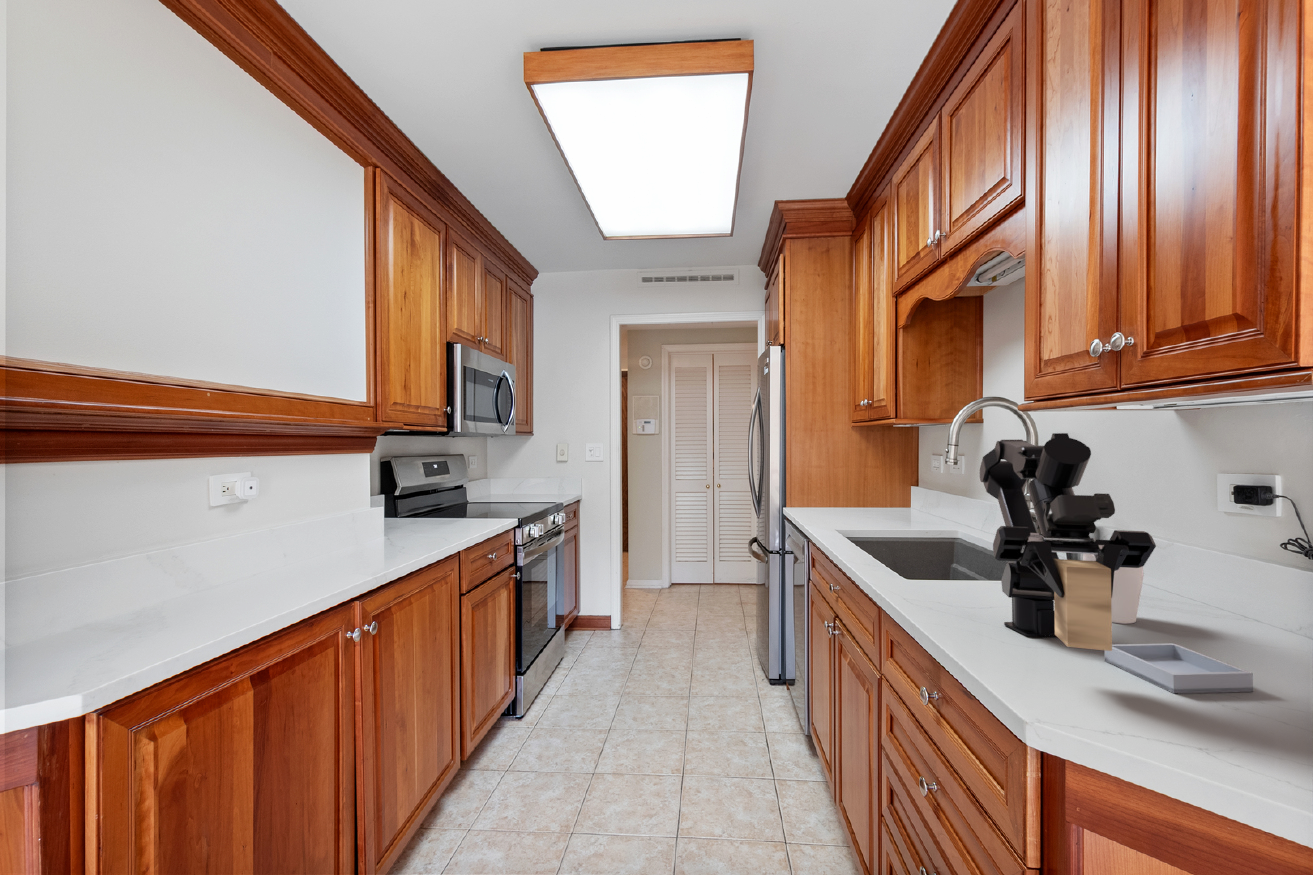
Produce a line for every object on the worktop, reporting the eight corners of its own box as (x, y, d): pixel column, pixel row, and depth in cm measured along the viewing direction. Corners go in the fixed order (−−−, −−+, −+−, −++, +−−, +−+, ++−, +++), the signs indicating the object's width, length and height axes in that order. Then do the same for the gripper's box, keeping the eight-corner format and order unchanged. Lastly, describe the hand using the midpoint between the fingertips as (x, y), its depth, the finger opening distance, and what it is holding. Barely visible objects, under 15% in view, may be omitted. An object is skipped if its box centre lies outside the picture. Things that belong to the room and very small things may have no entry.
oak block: (1054, 634, 80) (1053, 558, 80) (1096, 638, 78) (1095, 561, 78) (1067, 646, 75) (1066, 566, 75) (1112, 650, 74) (1110, 568, 74)
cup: (1083, 608, 111) (1082, 548, 111) (1143, 616, 105) (1142, 554, 105) (1082, 619, 104) (1081, 556, 104) (1145, 629, 98) (1144, 562, 98)
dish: (1104, 660, 85) (1104, 644, 85) (1173, 659, 85) (1173, 643, 85) (1173, 693, 74) (1173, 674, 74) (1253, 691, 74) (1252, 673, 74)
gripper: (996, 473, 84) (1018, 560, 73) (1148, 474, 78) (1195, 570, 67) (985, 517, 91) (1003, 603, 81) (1122, 522, 85) (1162, 615, 75)
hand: (1085, 597), depth 76 cm, fingers closed on oak block, 5 cm apart
